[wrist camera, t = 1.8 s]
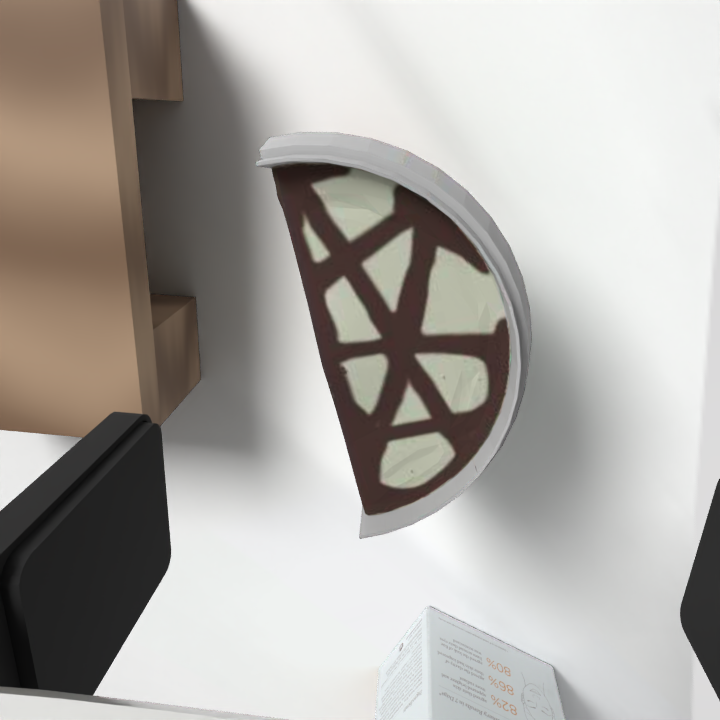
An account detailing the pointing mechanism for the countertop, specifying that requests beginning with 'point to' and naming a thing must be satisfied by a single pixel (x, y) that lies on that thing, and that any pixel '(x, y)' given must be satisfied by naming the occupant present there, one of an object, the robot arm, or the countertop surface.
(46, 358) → the bridge shelf
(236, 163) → the countertop surface
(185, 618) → the countertop surface
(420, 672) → the small box
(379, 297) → the food container
